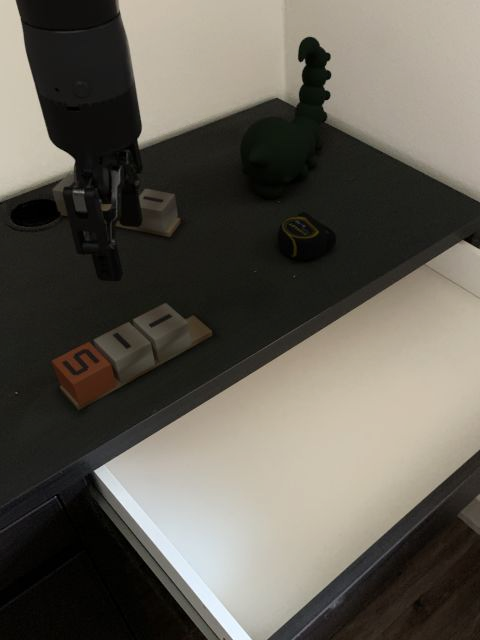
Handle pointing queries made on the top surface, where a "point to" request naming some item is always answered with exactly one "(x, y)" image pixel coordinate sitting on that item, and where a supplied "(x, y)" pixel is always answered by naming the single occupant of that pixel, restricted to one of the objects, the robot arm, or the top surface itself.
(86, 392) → the orange block
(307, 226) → the tape measure
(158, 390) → the top surface
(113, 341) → the word
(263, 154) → the toy figurine
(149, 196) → the word
